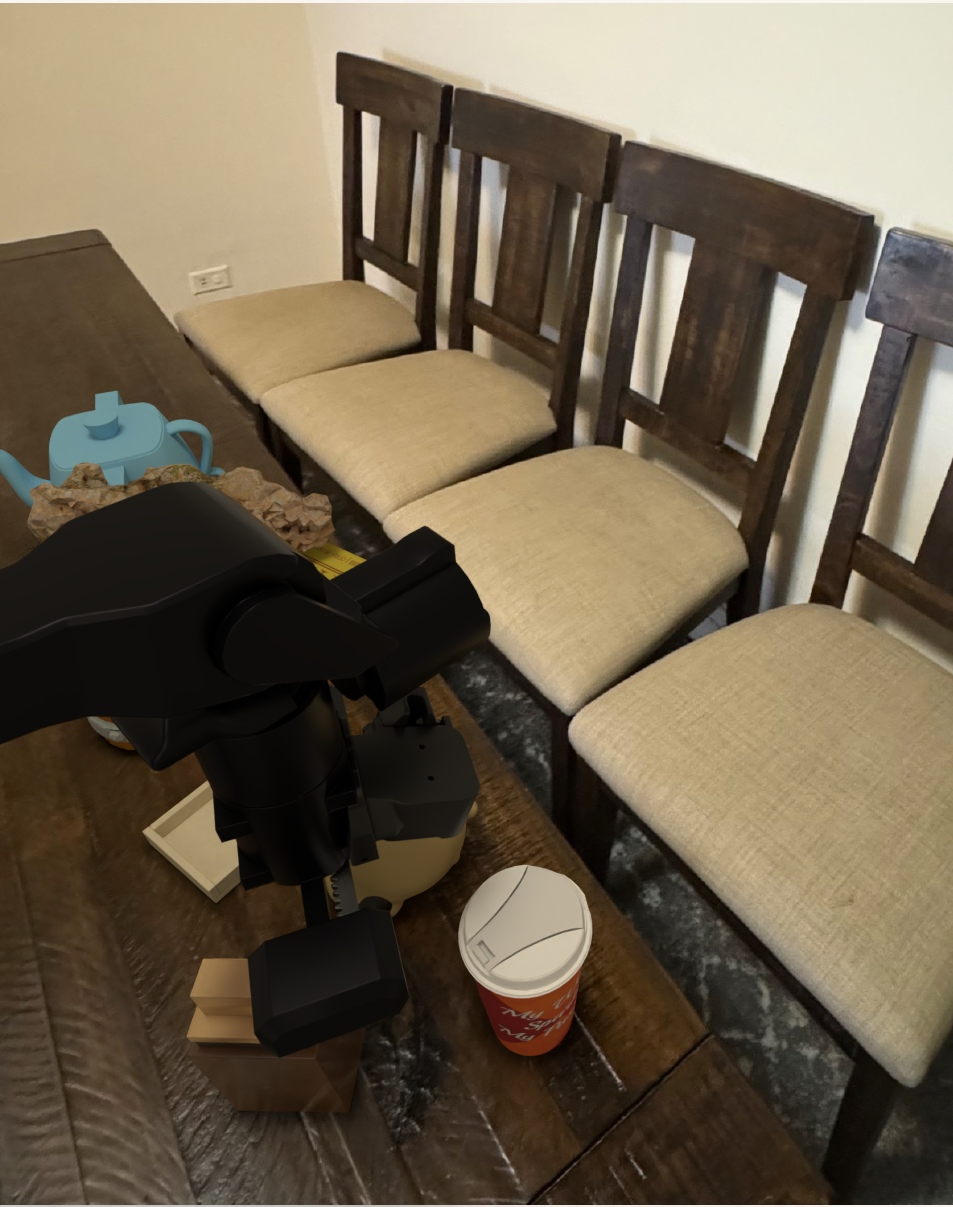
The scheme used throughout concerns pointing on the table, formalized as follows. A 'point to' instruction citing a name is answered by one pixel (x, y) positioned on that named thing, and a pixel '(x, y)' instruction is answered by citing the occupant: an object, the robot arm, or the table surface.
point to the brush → (223, 1005)
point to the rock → (268, 501)
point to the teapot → (113, 445)
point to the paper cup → (527, 954)
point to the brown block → (285, 1075)
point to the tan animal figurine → (404, 870)
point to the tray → (197, 844)
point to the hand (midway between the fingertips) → (336, 920)
